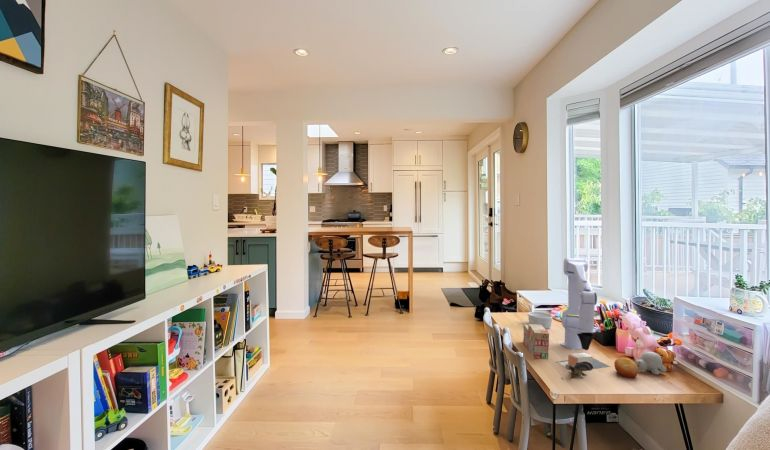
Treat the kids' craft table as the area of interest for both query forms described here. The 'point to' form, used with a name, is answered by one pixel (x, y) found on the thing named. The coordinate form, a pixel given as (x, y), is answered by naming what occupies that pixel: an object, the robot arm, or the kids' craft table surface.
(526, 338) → the stack of blocks
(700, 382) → the kids' craft table surface
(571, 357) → the tall block
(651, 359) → the toy rhinoceros
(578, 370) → the squirrel figurine
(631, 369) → the fruit
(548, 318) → the ramekin
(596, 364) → the mat
